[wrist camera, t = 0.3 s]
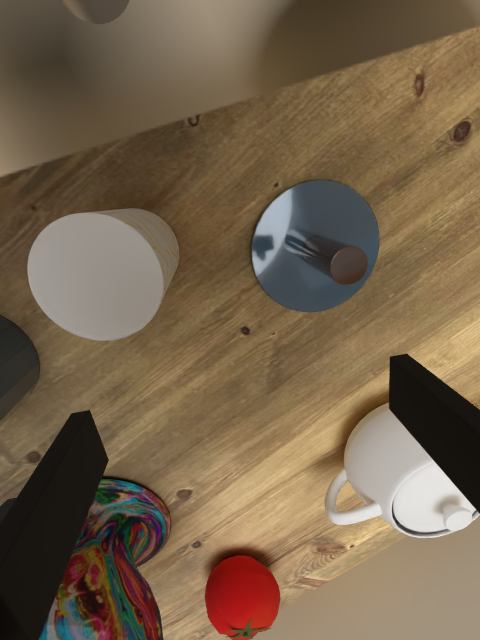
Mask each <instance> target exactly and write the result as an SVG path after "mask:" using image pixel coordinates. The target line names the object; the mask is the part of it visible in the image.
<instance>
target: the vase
mask: <svg viewBox="0 0 480 640" xmlns="http://www.w3.org/2000/svg"><path fill="white" fill-rule="evenodd" d="M170 531H171V520H170V516H169V513H168V511H167V509H166V507H165V506H164V504H163V503H162V502H161V501H160V500H159V499H158V498H157V497H156V496H155V495H154V494H152V493H151V492H149V491H148V490H146V489H144V488H142V487H140V486H138V485H135V484H132V483H129V482H125V481H120V480H113V479H101V481H100V484H99V487H98V489H97V492H96V494H95V497H94V499H93V502H92V505H91V507H90V510H89V512H88V515H87V517H86V520H85V523H84V525H83V528H82V530H81V533H80V535H79V538H78V541H77V543H76V546H75V548H74V551H73V553H72V556H71V559H70V561H69V564H68V566H67V569H66V571H65V574H64V577H63V579H62V582H61V584H60V587H59V589H58V592H57V595H56V597H55V600H54V602H53V605H52V607H51V610H50V613H49V615H48V618H47V620H46V623H45V625H44V628H43V631H42V633H41V636H40V638H39V640H163V633H162V624H161V616H160V611H159V608H158V606H157V603H156V601H155V598H154V596H153V593H152V591H151V588H150V586H149V584H148V583H147V581H146V580H145V579H144V577H143V576H142V575H141V573H140V572H139V571H138V569H137V568H136V567H137V566H139V565H141V564H143V563H145V562H147V561H148V560H149V559H151V558H152V557H153V556H154V555H156V554H157V553H158V552H159V551H160V550H161V549H162V548H163V546H164V545H165V544H166V542H167V540H168V538H169V535H170Z"/></svg>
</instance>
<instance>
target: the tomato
mask: <svg viewBox="0 0 480 640" xmlns="http://www.w3.org/2000/svg"><path fill="white" fill-rule="evenodd" d="M205 602H206V608H207V614H208V618H209V620H210V622H211V623H212V625H213V626H214V627H215V628H216V630H217V631H218V632H219V633H220V634H225V635H228V636H227V637H230V638H231V639H232V640H249V639H252V638H253V637H254V636H255V635H256V634H257V633H258V632H262V631H266V630H268V629H269V627H271V625H272V623H273V622H274V620H275V619H276V616H277V614H278V609H279V603H280V591H279V586H278V584H277V582H276V580H275V578H274V576H273V574H272V573H271V572H270V571H269V570H268V569H267V568H266V567H265V566H264V565H262V564H261V563H259V562H258V561H257V560H255V559H254V558H252V557H250V556H243V555H237V556H234V557H230V558H227V559H225V560H223V561H222V562H221V563H219V564H218V565H217V566H216V567H215V568H214V570H213V571H212V573H211V574H210V576H209V578H208V581H207V585H206V591H205ZM225 638H226V637H225Z"/></svg>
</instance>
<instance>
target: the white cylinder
mask: <svg viewBox="0 0 480 640" xmlns="http://www.w3.org/2000/svg"><path fill="white" fill-rule="evenodd" d="M179 256H180V253H179V245H178V242H177V239H176V236H175V234H174V232H173V231H172V229H171V228H170V227H169V225H168V224H167V223H166V222H165V221H164V220H163V219H161V218H160V217H159V216H157V215H155V214H154V213H152V212H149V211H147V210H143V209H137V208H127V209H117V210H107V211H97V212H86V213H77V214H71V215H68V216H65V217H62V218H60V219H58V220H56V221H54V222H52V223H51V224H50V225H48V226H47V227H46V228H45V229H44V230H43V231H42V232H41V233H40V234H39V235H38V237H37V238H36V240H35V241H34V243H33V245H32V248H31V250H30V254H29V258H28V279H29V284H30V287H31V290H32V293H33V295H34V297H35V299H36V301H37V303H38V304H39V306H40V307H41V309H42V310H43V311H44V312H45V314H46V315H47V316H48V317H49V318H50V319H51V320H52V321H53V322H55V323H56V324H57V325H59V326H60V327H61V328H63V329H65V330H66V331H68V332H70V333H72V334H75V335H77V336H80V337H83V338H87V339H92V340H100V341H107V340H116V339H121V338H124V337H127V336H130V335H132V334H134V333H136V332H138V331H139V330H141V329H142V328H143V327H144V326H146V325H147V324H148V323H149V322H150V320H151V319H152V318H153V317H154V315H155V314H156V312H157V310H158V308H159V306H160V304H161V302H162V299H163V297H164V295H165V293H166V291H167V289H168V287H169V285H170V283H171V280H172V278H173V276H174V274H175V272H176V270H177V267H178V264H179Z"/></svg>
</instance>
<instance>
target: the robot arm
mask: <svg viewBox="0 0 480 640" xmlns="http://www.w3.org/2000/svg"><path fill="white" fill-rule="evenodd" d="M389 410H390V411H391V412H392V413H393V414H394V415H395V416H396V418H397V419H398V420H399V421H400V422H401V423H402V425H403V426H404V427H405V428H406V429H407V430H408V432H409V433H410V434H411V435H412V436H413V437H414V438H415V440H416V441H417V442H418V443H419V444H420V445H421V447H422V448H423V449H424V450H425V451H426V452H427V453H428V455H429V456H430V457H431V458H432V459H433V460H434V462H435V463H436V464H437V465H438V466H439V467H440V469H441V470H442V471H443V472H444V473H445V474H446V475H447V477H448V478H449V479H450V480H451V481H452V482H453V484H454V485H455V486H456V487H457V488H458V489H459V490H460V492H461V493H462V494H463V495H464V496H465V497H466V499H467V500H468V501H469V502H470V503H471V504H472V506H473V507H474V508H475V509H476V510H477V511H478V512H479V514H480V410H479V409H478V408H477V407H475V406H474V405H473V404H471V403H470V402H469V401H467V400H466V399H465V398H464V397H462V396H461V395H460V394H458V393H457V392H456V391H454V390H453V389H452V388H451V387H449V386H448V385H447V384H445V383H444V382H443V381H442V380H440V379H439V378H438V377H436V376H435V375H434V374H432V373H431V372H430V371H429V370H427V369H426V368H425V367H423V366H422V365H421V364H420V363H418V362H417V361H416V360H414V359H413V358H412V357H410V356H409V355H408V354H403V355H397V356H392V357H390V380H389ZM108 461H109V460H108V457H107V454H106V452H105V449H104V446H103V444H102V441H101V438H100V436H99V433H98V430H97V428H96V425H95V423H94V420H93V417H92V415H91V412H90V410H88V411H82V412H77V413H72V414H71V415H70V417H69V418H68V420H67V421H66V423H65V425H64V426H63V428H62V429H61V431H60V432H59V434H58V435H57V437H56V438H55V440H54V442H53V443H52V445H51V446H50V448H49V449H48V451H47V452H46V454H45V455H44V457H43V458H42V460H41V462H40V463H39V465H38V466H37V468H36V469H35V471H34V472H33V474H32V475H31V477H30V479H29V480H28V482H27V483H26V485H25V486H24V488H23V489H22V491H21V492H20V494H19V495H18V497H17V498H13V499H8V500H7V501H6V502H4V503H3V504H2V505H1V506H0V640H39V638H40V636H41V633H42V631H43V628H44V625H45V623H46V620H47V618H48V615H49V613H50V610H51V607H52V605H53V602H54V600H55V597H56V595H57V592H58V589H59V587H60V584H61V582H62V579H63V577H64V574H65V571H66V569H67V566H68V564H69V561H70V559H71V556H72V553H73V551H74V548H75V546H76V543H77V541H78V538H79V535H80V533H81V530H82V528H83V525H84V523H85V520H86V517H87V515H88V512H89V510H90V507H91V505H92V502H93V499H94V497H95V494H96V492H97V489H98V487H99V484H100V481H101V479H102V476H103V474H104V471H105V469H106V466H107V463H108Z"/></svg>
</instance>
